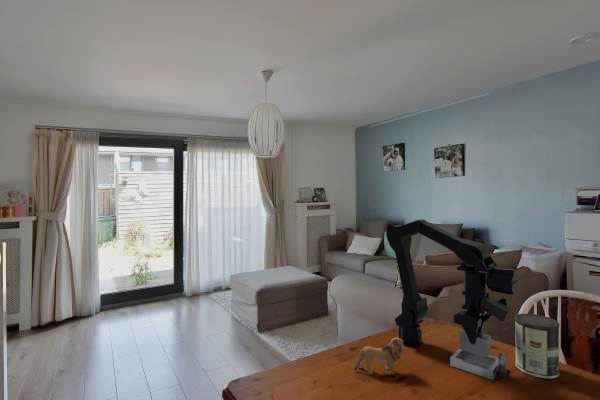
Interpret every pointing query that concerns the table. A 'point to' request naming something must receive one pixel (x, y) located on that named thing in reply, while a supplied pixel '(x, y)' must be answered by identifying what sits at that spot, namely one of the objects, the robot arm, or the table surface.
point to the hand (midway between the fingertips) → (475, 341)
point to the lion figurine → (382, 354)
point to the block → (476, 344)
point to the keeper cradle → (479, 363)
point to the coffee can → (537, 345)
